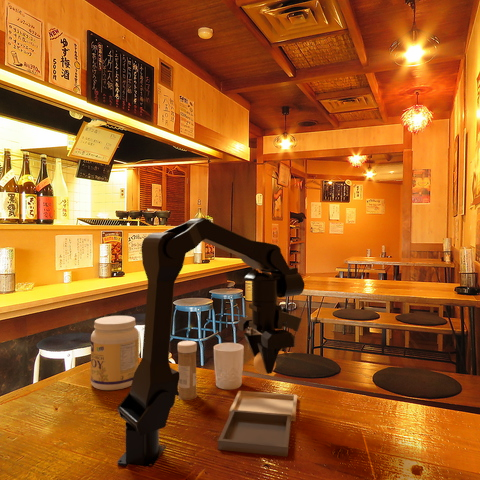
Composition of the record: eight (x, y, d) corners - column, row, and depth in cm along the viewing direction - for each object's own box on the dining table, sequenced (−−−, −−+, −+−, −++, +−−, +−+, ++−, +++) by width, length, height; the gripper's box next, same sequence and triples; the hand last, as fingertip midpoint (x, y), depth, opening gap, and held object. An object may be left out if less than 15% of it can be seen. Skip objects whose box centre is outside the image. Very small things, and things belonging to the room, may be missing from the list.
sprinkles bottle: (200, 398, 92) (200, 342, 92) (185, 404, 89) (185, 346, 89) (189, 392, 96) (189, 338, 95) (174, 398, 92) (173, 342, 92)
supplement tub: (81, 384, 101) (81, 320, 101) (120, 371, 111) (120, 313, 111) (108, 396, 94) (108, 327, 94) (148, 381, 103) (148, 318, 103)
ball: (274, 378, 83) (274, 355, 83) (252, 377, 84) (252, 354, 84) (276, 370, 88) (276, 348, 88) (255, 369, 89) (255, 347, 89)
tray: (295, 423, 80) (295, 416, 80) (229, 418, 82) (229, 411, 82) (297, 401, 91) (297, 394, 91) (238, 396, 93) (238, 390, 93)
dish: (287, 459, 67) (287, 447, 67) (218, 452, 69) (218, 440, 69) (291, 425, 79) (291, 414, 79) (232, 420, 81) (232, 409, 81)
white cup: (245, 379, 104) (244, 342, 104) (242, 391, 96) (242, 351, 96) (216, 378, 105) (216, 342, 105) (211, 390, 97) (211, 350, 97)
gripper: (317, 304, 80) (317, 379, 80) (279, 292, 98) (279, 353, 98) (268, 308, 76) (268, 386, 76) (237, 294, 94) (237, 358, 94)
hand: (264, 369), depth 86 cm, fingers closed on ball, 5 cm apart
